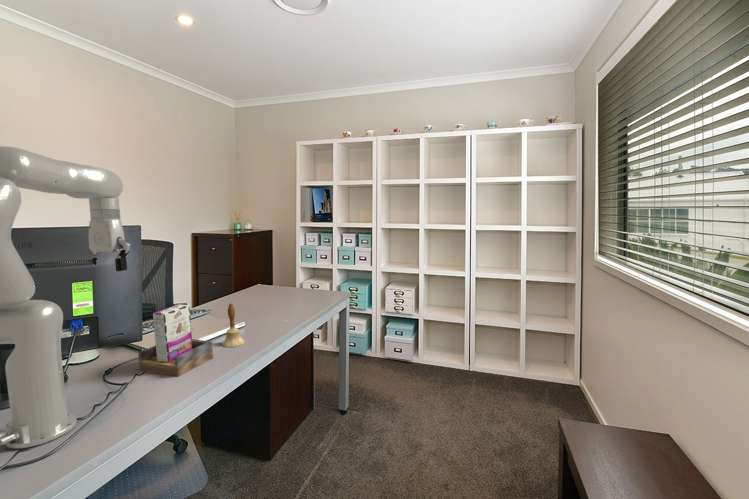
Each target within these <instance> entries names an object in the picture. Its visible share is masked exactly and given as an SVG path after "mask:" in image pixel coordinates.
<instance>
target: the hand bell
mask: <svg viewBox="0 0 749 499" xmlns="http://www.w3.org/2000/svg"><path fill="white" fill-rule="evenodd" d="M235 309H236V308H235V307H234V305H233V303H229V304H228V308H227V315H228V318H229V329H227V330H226V336H225V338H224V339H225V340H224V341H223V342H222V343H221V346H222V347H223V348H235V347H240V346H242V345H244V344H245V342H246V341H245V339H243V338H242V337H241V334H240V330H239V329H238V328H236V324H235V317H236V310H235Z"/></svg>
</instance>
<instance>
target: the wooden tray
mask: <svg viewBox="0 0 749 499" xmlns="http://www.w3.org/2000/svg"><path fill="white" fill-rule="evenodd" d="M192 346H193V349H192V350H190V351H188V352H186V353H184V354H181V355H179V356H177V357H175V360H173V361H171V362H169V363H167V362H158V361H157V353H156V345H153V346H150V347H149V348H146V349H144V350H141V351H139V352H138V360H139V361H138V362H139V370H140V371H143V372H150V373H154V374H155V373H156V374H162V375H168V376H172V377H173V376H174V377H181V376H182V375H184V374H186V373H188V372H190V371H191V370H194V369H195V368H196V367H199V366H201V365H202V364H205V363H206V362H209V361H210V360H212V359H213V358H214V351H213V341H210V340H202V339H194V338H192Z"/></svg>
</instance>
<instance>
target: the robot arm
mask: <svg viewBox="0 0 749 499" xmlns="http://www.w3.org/2000/svg"><path fill="white" fill-rule="evenodd" d="M19 188H20V189H26V190H32V191H36V192H41V193H48V194H56V195H58V194H59V195H67V196H68V197H69V198H73V199H79V200H80V199H88V203H89V205H88V206H89V217H90V220H89V224H88V242H89V249H90V251H92V252H93V254H94V256H95V255H96V254H97V252H104V253H109V254H110V253H113V254H114V256H115V257H116V258H114V263H115V271H116V272H122V271H123V272H124V271H127V270H128V263H127V258H128V255H129V253H130V248H131V243H130V242H127V241H126V239H125V232H124V228H123V222H122V219H121V210H120V199H119V198H120V196H121V194H122V193H123V190H124V184H123V181H122V179H121V178H120V177H119V175H117V174H116V173H115V172H113V171H111V170H108V169H107V168H106V169H105V168H102V167H97V166H92V165H88V164H87V165H86V164H81V163H75V162H70V161H64V160H59V159H54V158H52V157H48V156H46V155H45V156H44V155H41V154H38V153H36V152H32V151H30V150H29V151H28V150H25V149H22V148H19V147H15V146H1V145H0V345H15V346H14V348H13V350H12V351H11V353H10V355H9V356H8V358H7V359H6V362H5V367H4V368H5V377H6V386H7V393H8V402H9V410H10V417H11V421H9V422H6V423H5V427H6V428H3V429H1V432H0V446H3V445H4V446H6V448H8V449H16V450H17V449H26V448H33V447H36V446H40V445H42V444H45V443H49V442H51V441H53V440H56V439H58V438H60V437H61V436H64V435H65V434H67V433H68V432H70V431H71V430H72V429H73V428H74V427H76V425H77V416H76V415H75V414H74V413H73V414H72V413H71V412H69V413H68V406H67V399H66V398H67V395H66V386H65V378H64V368H63V358H62V344H61V343H62V331H63V330H62V329H63V324H64V313H63V310H62V308H61V307H60V306H59V305H58V304H56V302H54V301H53V302H52V301H49V300H44V299H32V298H33V296H34V295H35V293H36V285H35V284H36V283H35V281H34V279H33V277H32V275H31V273H30V272H29V270H28V268H27V266H26V265H25V263H24V261H23V259H22V258H21V255H19V253H18V251H17V250H16V248H15V246H14V243H13V240H12V228H13V226H14V222H15V220H16V217H17V215H18V212H19V210H20V208H21V205H22V196H21V191H20V189H19ZM89 227H91V228H89ZM89 249H88V250H89ZM104 253H103V254H104ZM92 258H93V257H92ZM96 260H97V258H93V259H92V264H93V263H94V264H95V265H96Z"/></svg>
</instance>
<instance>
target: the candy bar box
mask: <svg viewBox="0 0 749 499" xmlns="http://www.w3.org/2000/svg"><path fill="white" fill-rule="evenodd" d="M190 311H191V310H190V305H189V304H182V303H181V304H176V305H173V306H170V307H166V308H164V309H161V310H159V311H156V312H153V313H152V318H153V319H152V321H153V330H154V331H153V332H154V342H155V346H156V353H157V361H158V362H167V363H169V362H171V361H173V360H175V357H177V356H179V355H181V354H184V353H186V352H188V351H190V350H192V349H193V346H192V339H193V338H192V337H193V336H192V326H191V325H192V323H191V312H190Z"/></svg>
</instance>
